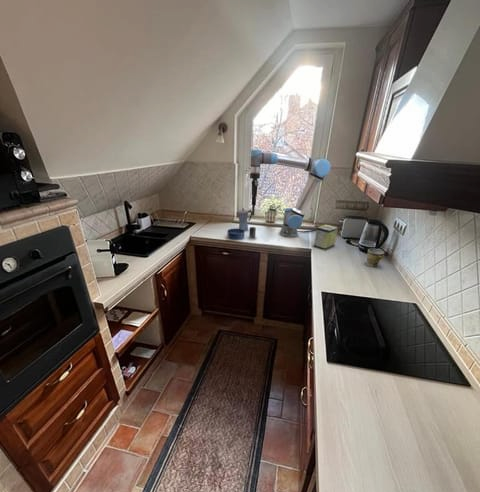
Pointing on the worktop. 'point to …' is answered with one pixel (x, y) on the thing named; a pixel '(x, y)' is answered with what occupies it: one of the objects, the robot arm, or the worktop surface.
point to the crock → (252, 232)
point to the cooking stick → (253, 210)
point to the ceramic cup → (374, 257)
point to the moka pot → (243, 219)
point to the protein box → (325, 236)
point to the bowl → (235, 234)
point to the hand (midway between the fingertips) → (253, 204)
